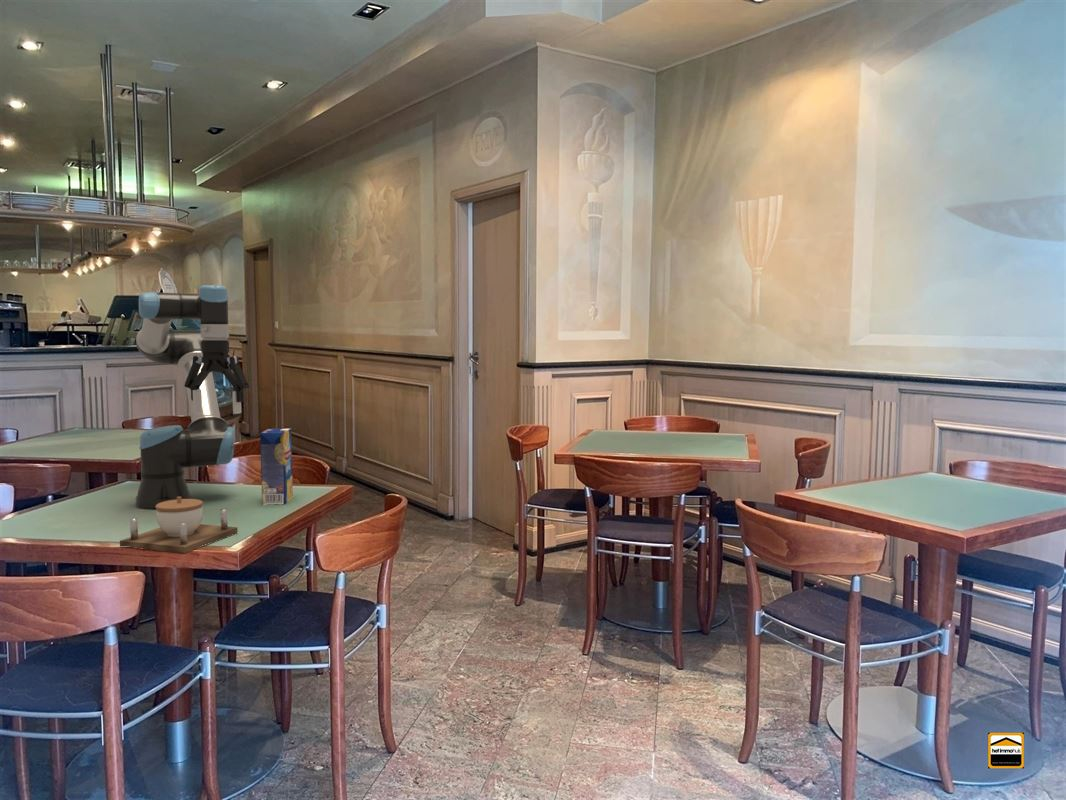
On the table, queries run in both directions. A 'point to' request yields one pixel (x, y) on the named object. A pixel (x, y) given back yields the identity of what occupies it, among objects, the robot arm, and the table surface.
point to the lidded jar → (179, 515)
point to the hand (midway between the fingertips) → (217, 412)
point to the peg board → (178, 539)
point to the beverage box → (276, 466)
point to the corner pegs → (182, 527)
